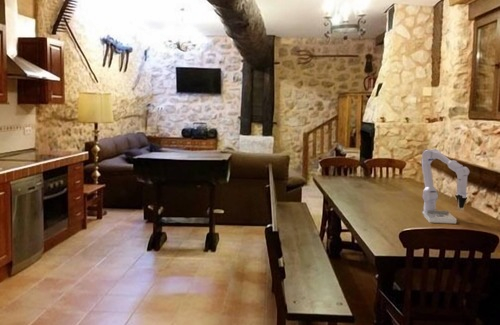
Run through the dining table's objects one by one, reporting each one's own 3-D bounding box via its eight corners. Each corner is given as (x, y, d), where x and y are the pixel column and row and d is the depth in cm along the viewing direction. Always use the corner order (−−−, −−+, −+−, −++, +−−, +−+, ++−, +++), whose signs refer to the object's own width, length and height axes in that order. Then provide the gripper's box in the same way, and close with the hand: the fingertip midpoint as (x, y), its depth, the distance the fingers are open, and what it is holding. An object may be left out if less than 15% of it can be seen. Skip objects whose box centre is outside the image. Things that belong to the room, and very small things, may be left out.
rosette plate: (423, 216, 322) (424, 209, 322) (449, 217, 320) (449, 210, 319) (429, 222, 304) (429, 215, 304) (456, 223, 302) (456, 216, 302)
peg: (457, 209, 311) (457, 198, 310) (462, 209, 311) (463, 199, 310) (458, 210, 308) (459, 199, 307) (463, 210, 308) (464, 200, 307)
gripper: (471, 188, 300) (470, 209, 301) (465, 184, 314) (463, 205, 316) (459, 187, 301) (458, 209, 302) (453, 184, 315) (452, 204, 317)
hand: (460, 207), depth 309 cm, fingers closed on peg, 3 cm apart
